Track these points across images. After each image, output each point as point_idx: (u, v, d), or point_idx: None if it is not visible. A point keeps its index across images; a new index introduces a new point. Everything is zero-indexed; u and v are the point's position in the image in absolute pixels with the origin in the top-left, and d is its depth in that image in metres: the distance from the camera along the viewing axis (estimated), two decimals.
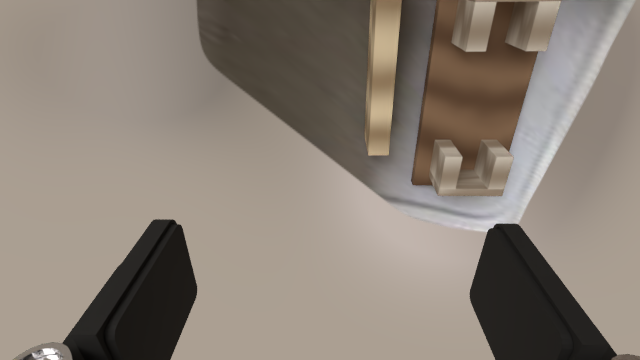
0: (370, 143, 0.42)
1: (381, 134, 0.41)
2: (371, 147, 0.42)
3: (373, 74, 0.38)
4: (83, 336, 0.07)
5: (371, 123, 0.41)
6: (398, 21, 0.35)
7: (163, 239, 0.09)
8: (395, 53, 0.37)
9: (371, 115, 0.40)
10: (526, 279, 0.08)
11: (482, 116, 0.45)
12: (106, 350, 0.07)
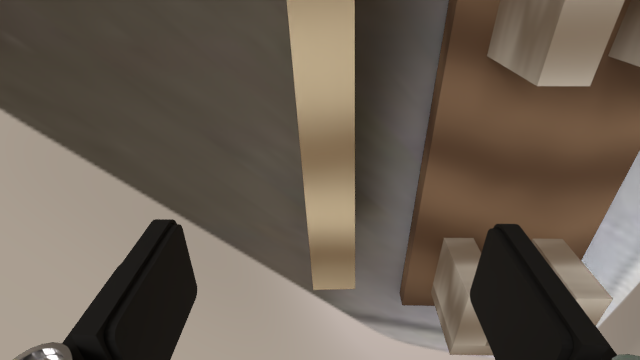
0: (314, 270, 0.20)
1: (335, 254, 0.19)
2: (318, 276, 0.20)
3: (301, 137, 0.15)
4: (83, 336, 0.07)
5: (311, 235, 0.18)
6: (350, 2, 0.13)
7: (163, 239, 0.09)
8: (350, 87, 0.14)
9: (309, 220, 0.18)
10: (526, 279, 0.08)
11: (540, 200, 0.22)
12: (106, 350, 0.07)
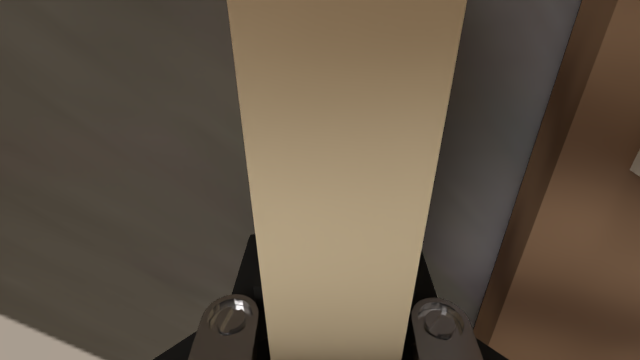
0: None
1: None
2: None
3: None
4: None
5: None
6: (428, 146, 0.04)
7: None
8: (398, 314, 0.06)
9: None
10: None
11: None
12: None
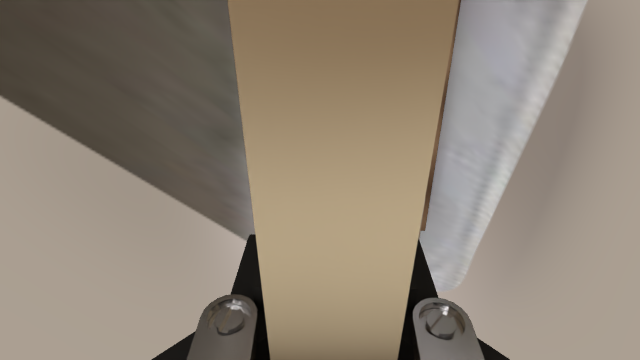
0: None
1: None
2: None
3: None
4: None
5: None
6: (422, 145, 0.04)
7: None
8: (395, 310, 0.06)
9: None
10: None
11: None
12: None
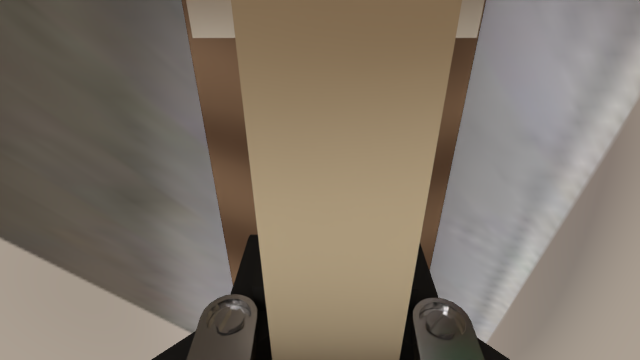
0: None
1: None
2: None
3: None
4: (262, 288, 0.08)
5: None
6: (425, 146, 0.04)
7: None
8: (397, 310, 0.06)
9: None
10: None
11: None
12: None
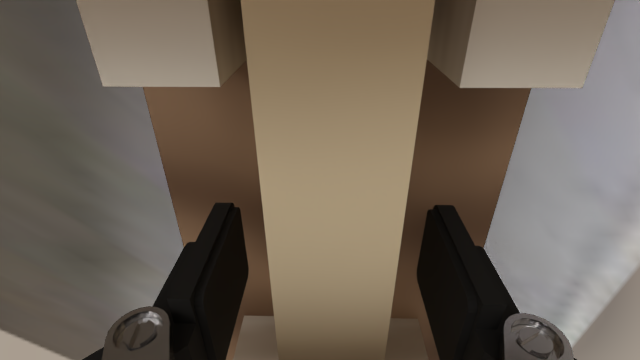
0: None
1: None
2: None
3: (281, 340, 0.08)
4: (177, 300, 0.08)
5: None
6: (408, 121, 0.05)
7: (228, 219, 0.10)
8: (387, 273, 0.07)
9: None
10: (449, 252, 0.09)
11: None
12: (195, 314, 0.08)
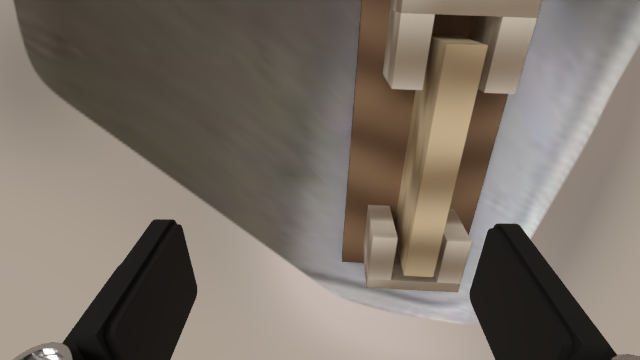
0: (408, 261, 0.28)
1: (425, 250, 0.28)
2: (410, 265, 0.29)
3: (424, 170, 0.25)
4: (83, 336, 0.07)
5: (413, 235, 0.27)
6: (473, 99, 0.22)
7: (163, 239, 0.09)
8: (461, 144, 0.24)
9: (414, 225, 0.27)
10: (526, 279, 0.08)
11: None
12: (106, 350, 0.07)
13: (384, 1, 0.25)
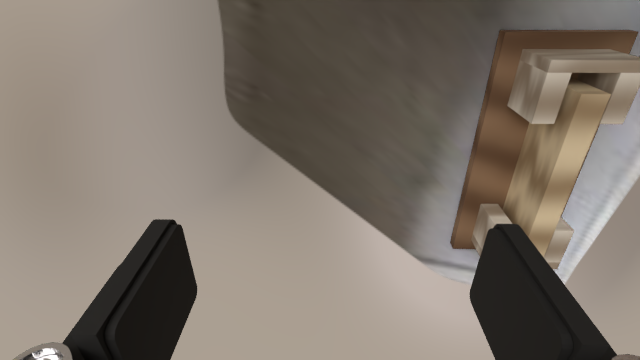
0: None
1: (540, 238, 0.37)
2: None
3: (549, 181, 0.34)
4: (83, 336, 0.07)
5: (533, 228, 0.36)
6: (594, 130, 0.31)
7: (163, 239, 0.09)
8: (581, 161, 0.32)
9: (535, 220, 0.36)
10: (526, 279, 0.08)
11: None
12: (106, 350, 0.07)
13: (516, 54, 0.34)
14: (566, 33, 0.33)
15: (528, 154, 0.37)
